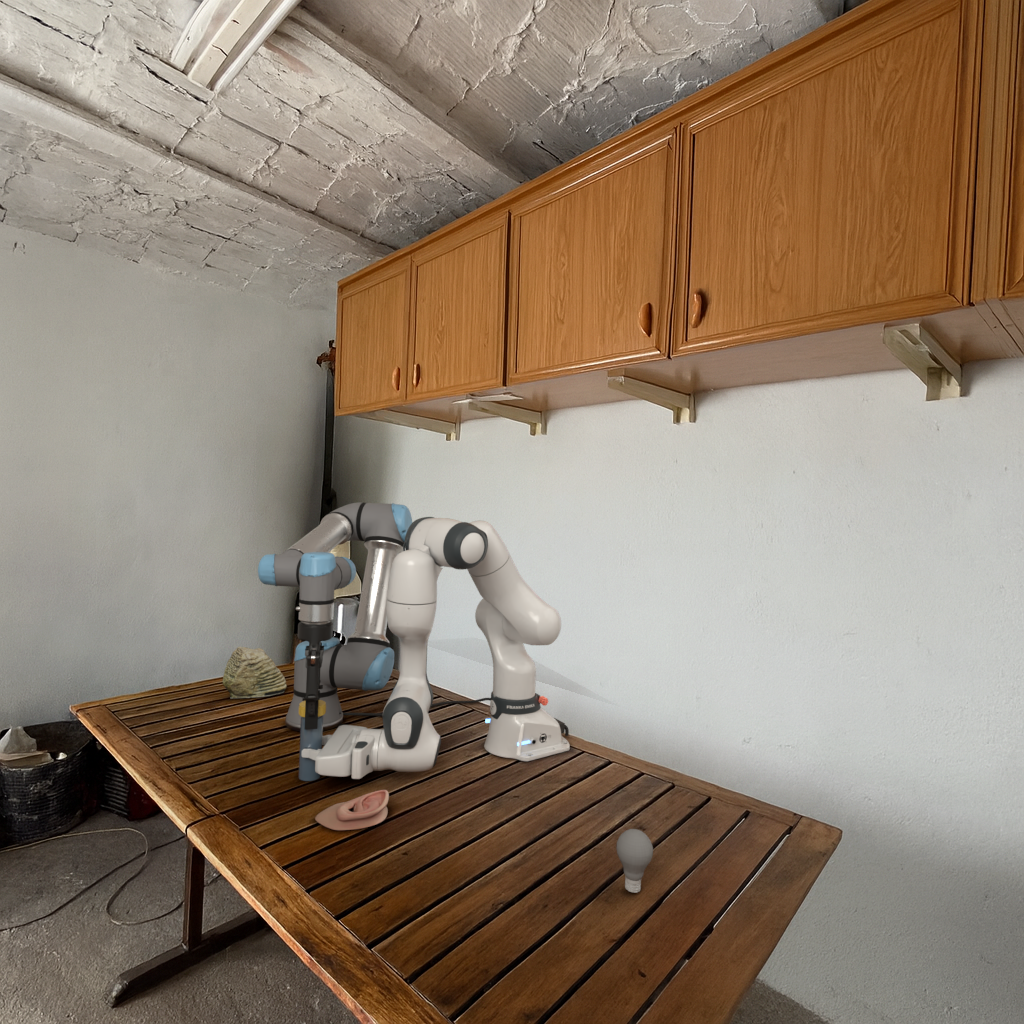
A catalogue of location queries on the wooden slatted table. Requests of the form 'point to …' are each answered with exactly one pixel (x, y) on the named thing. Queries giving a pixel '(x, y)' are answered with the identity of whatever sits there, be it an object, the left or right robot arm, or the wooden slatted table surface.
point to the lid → (320, 708)
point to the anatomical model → (356, 812)
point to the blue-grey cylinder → (315, 741)
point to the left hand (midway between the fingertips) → (311, 723)
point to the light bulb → (634, 857)
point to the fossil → (252, 674)
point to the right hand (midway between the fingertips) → (306, 746)
